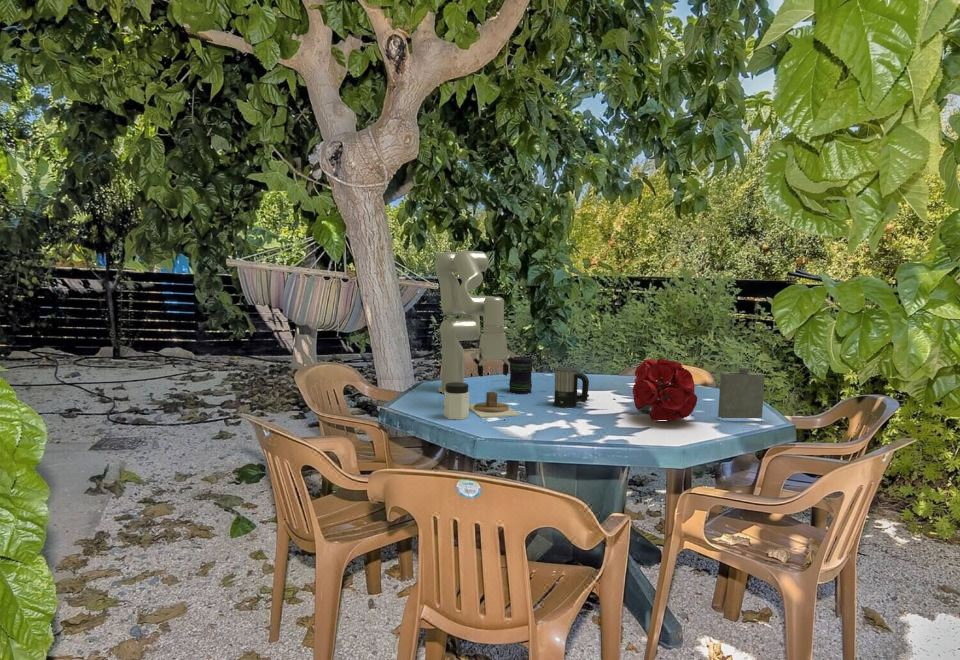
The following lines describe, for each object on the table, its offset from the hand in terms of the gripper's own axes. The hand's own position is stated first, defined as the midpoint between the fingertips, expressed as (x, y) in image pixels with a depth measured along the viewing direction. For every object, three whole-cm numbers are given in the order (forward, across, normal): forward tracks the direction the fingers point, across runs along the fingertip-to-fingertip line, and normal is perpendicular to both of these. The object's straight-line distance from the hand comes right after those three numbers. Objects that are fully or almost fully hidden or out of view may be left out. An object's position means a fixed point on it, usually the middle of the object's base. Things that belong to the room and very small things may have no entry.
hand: (493, 375), depth 231 cm
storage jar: (+13, -23, -31) cm, 41 cm away
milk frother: (+14, -35, -5) cm, 38 cm away
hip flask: (+15, -85, +33) cm, 92 cm away
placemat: (+13, 0, 0) cm, 13 cm away
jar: (+14, +16, +7) cm, 22 cm away
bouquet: (+14, -57, +24) cm, 63 cm away
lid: (+13, 0, -1) cm, 13 cm away
